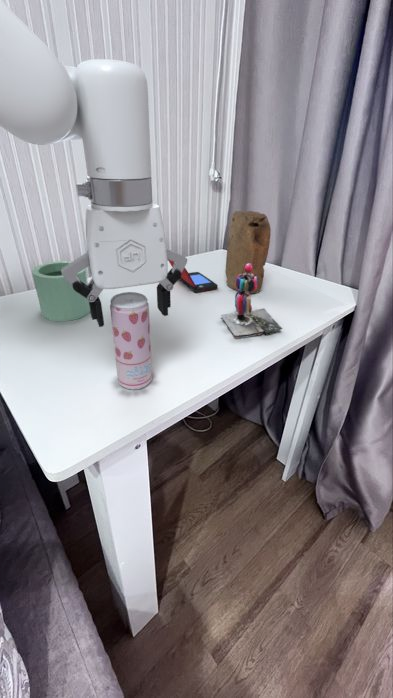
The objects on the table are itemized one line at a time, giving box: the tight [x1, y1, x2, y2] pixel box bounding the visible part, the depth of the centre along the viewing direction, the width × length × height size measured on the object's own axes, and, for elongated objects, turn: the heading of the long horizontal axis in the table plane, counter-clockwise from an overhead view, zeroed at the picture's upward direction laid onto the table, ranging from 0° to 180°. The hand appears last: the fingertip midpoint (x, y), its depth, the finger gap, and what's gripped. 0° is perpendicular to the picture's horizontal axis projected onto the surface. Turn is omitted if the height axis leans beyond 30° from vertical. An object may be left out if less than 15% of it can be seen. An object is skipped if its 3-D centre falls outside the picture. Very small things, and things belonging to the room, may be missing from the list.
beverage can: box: [109, 291, 153, 391], centre depth 52 cm, size 6×6×15 cm
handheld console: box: [167, 259, 219, 293], centre depth 92 cm, size 12×11×7 cm
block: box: [224, 210, 272, 294], centre depth 88 cm, size 11×8×20 cm
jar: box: [31, 260, 91, 322], centre depth 74 cm, size 11×11×10 cm
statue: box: [220, 263, 283, 340], centre depth 70 cm, size 11×9×15 cm
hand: (132, 317), depth 50 cm, fingers open, 9 cm apart
